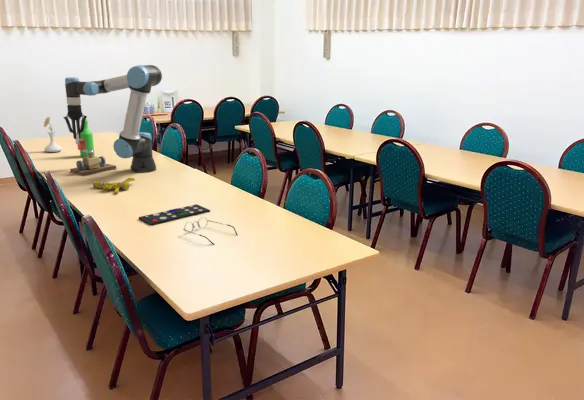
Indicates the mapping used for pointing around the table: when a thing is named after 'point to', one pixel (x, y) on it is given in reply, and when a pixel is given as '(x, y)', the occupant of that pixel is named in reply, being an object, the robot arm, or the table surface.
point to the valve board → (95, 170)
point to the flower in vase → (52, 146)
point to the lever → (83, 147)
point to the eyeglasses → (205, 226)
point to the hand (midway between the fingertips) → (77, 143)
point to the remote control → (173, 214)
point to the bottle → (87, 139)
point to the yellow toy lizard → (113, 185)
